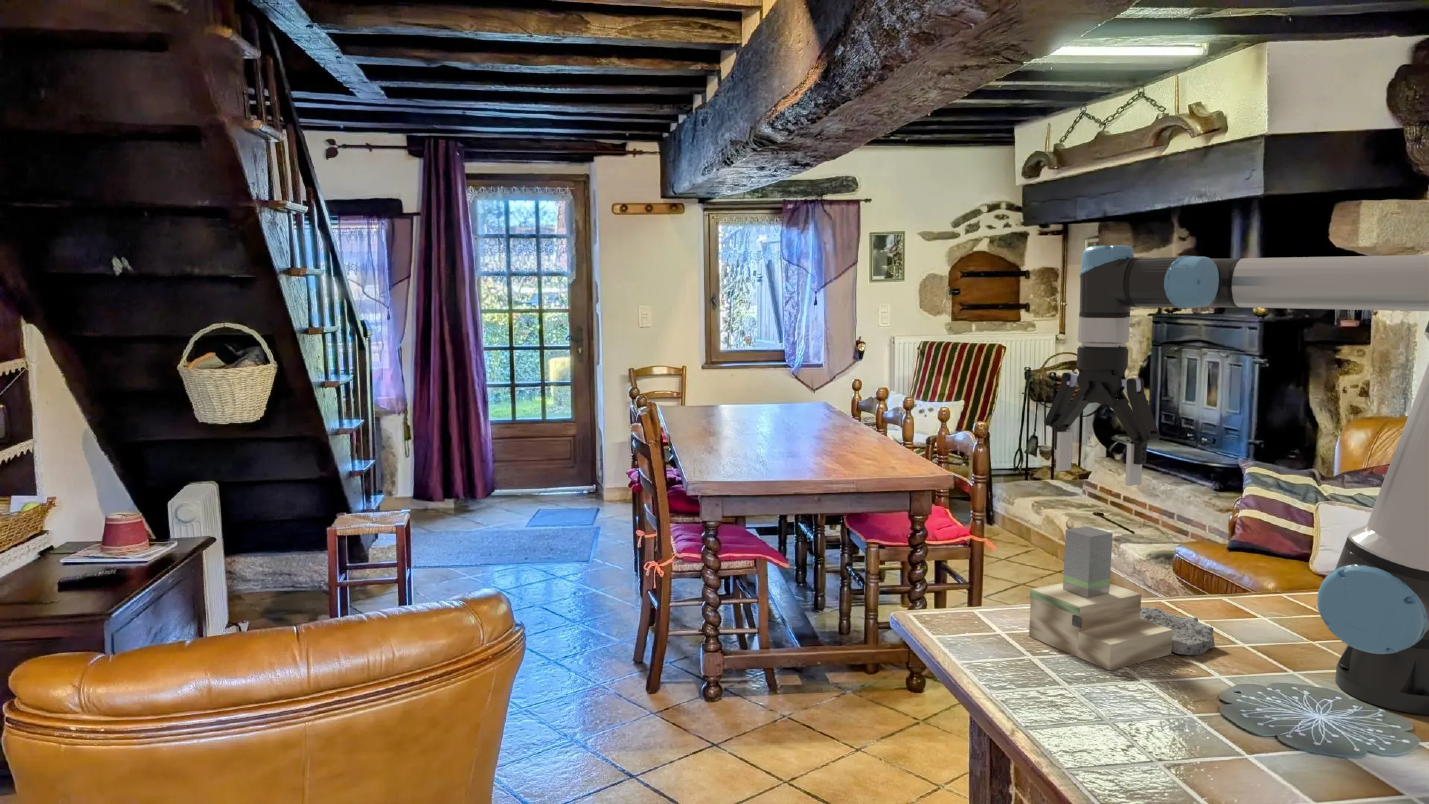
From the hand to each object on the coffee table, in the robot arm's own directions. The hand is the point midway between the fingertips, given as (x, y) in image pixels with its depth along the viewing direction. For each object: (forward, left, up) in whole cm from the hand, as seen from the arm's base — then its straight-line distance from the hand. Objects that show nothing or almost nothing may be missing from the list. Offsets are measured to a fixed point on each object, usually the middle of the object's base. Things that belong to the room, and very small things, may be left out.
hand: (1096, 477), depth 154 cm
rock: (-6, -11, -27) cm, 30 cm away
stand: (-2, +1, -27) cm, 27 cm away
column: (0, +1, -19) cm, 19 cm away
